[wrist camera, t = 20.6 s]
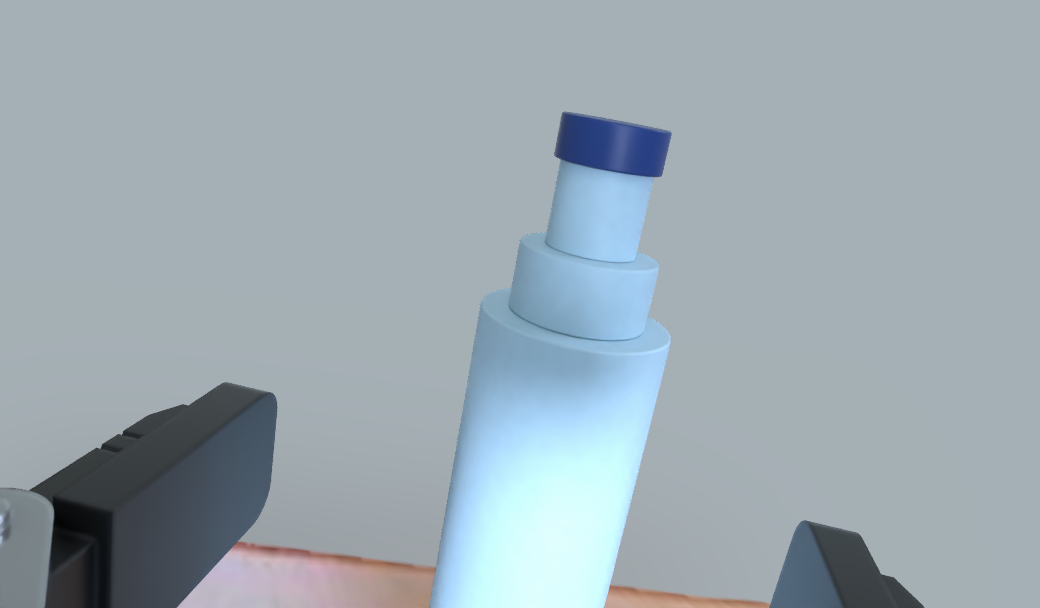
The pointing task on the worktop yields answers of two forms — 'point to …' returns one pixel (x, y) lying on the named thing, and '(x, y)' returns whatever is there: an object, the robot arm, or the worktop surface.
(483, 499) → the bottle
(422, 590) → the worktop surface
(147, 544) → the robot arm
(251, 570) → the worktop surface
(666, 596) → the worktop surface
